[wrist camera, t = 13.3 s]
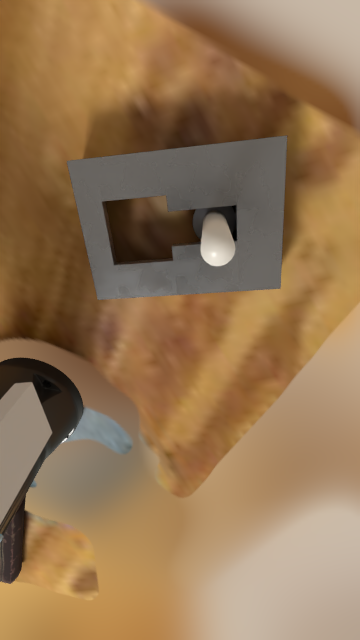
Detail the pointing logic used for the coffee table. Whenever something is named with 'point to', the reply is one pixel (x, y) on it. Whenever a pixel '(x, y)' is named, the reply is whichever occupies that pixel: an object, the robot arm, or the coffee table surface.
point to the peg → (215, 233)
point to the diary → (12, 547)
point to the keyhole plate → (185, 194)
